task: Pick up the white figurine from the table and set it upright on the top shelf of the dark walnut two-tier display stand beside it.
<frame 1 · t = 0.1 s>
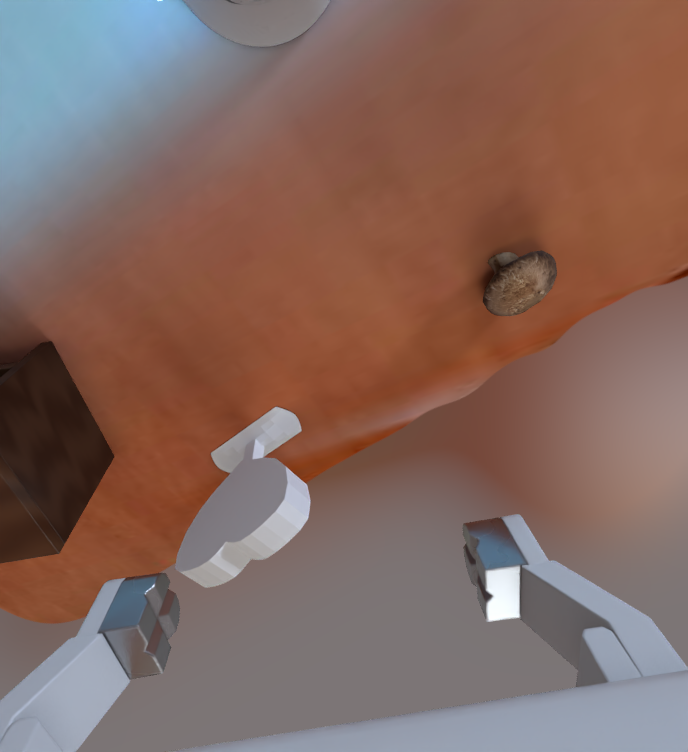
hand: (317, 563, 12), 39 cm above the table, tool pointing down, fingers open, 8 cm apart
shelf stand: (8, 416, 53), on the table
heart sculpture: (255, 441, 58), on the table
mushroom: (507, 275, 49), on the table
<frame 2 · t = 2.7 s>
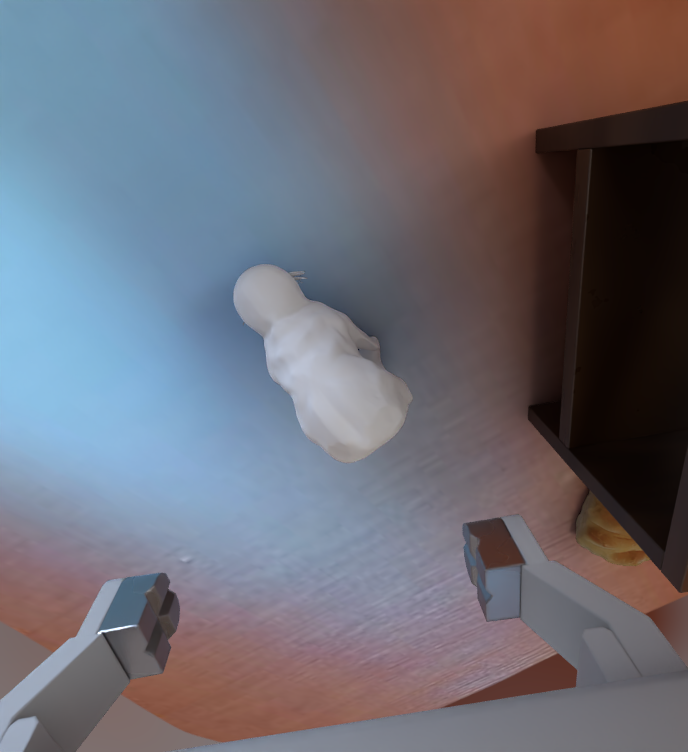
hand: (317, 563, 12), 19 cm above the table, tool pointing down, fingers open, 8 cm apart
shelf stand: (659, 273, 29), on the table
pastry: (612, 498, 37), on the table
white figurine: (313, 331, 29), on the table
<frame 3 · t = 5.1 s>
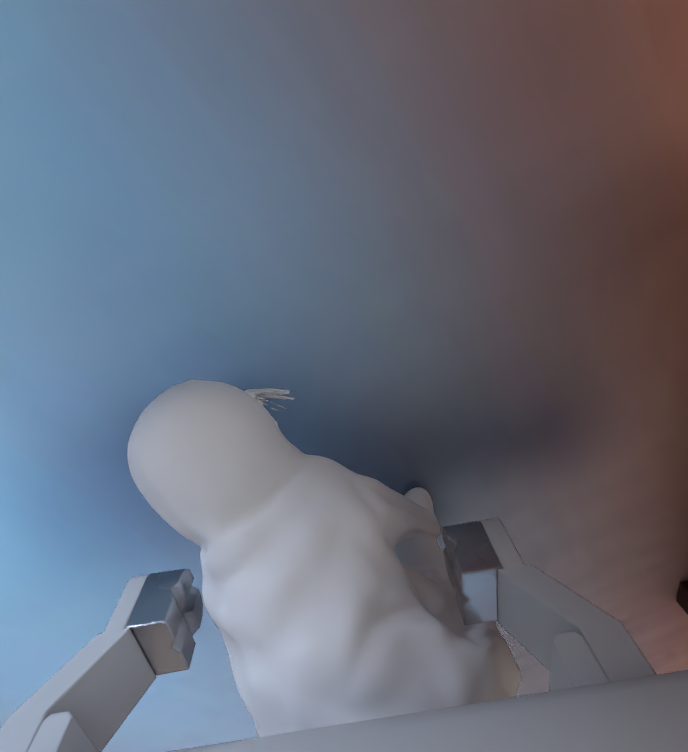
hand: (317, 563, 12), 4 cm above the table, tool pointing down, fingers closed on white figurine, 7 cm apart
white figurine: (308, 476, 16), on the table, touching gripper
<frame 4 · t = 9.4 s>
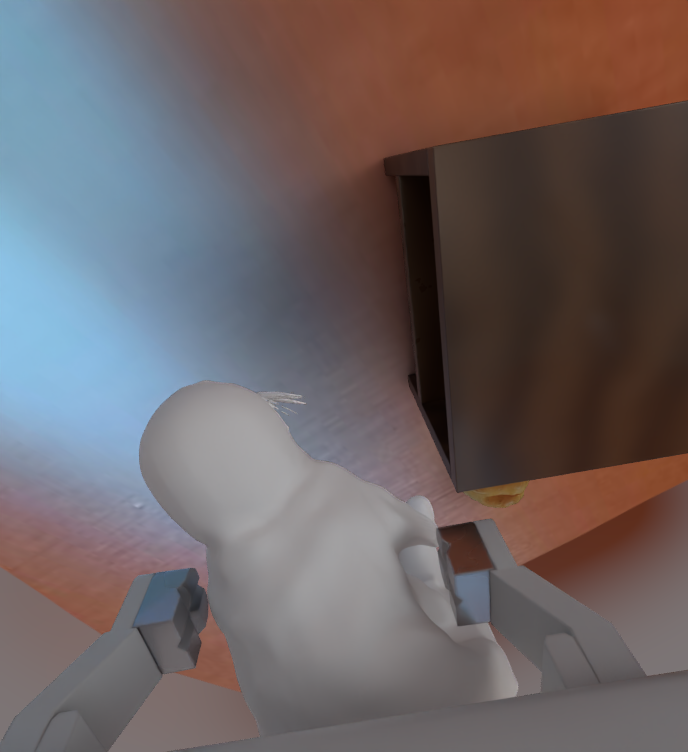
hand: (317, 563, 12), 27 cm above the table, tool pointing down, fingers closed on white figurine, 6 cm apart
shelf stand: (498, 267, 37), on the table
pastry: (490, 454, 45), on the table
white figurine: (311, 480, 16), point 23 cm above the table, touching gripper
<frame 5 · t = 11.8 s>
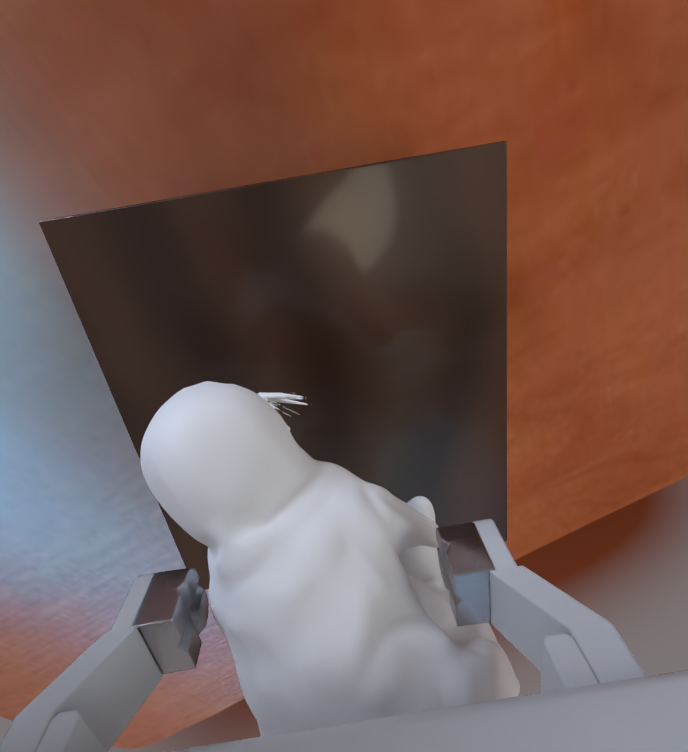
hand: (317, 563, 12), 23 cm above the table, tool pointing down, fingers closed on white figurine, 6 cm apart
shelf stand: (318, 316, 33), on the table
white figurine: (311, 480, 16), point 20 cm above the table, touching gripper
when the fingers open (19 cm above the table, at t = 13.7 s): white figurine stays where it is, resting on shelf stand.
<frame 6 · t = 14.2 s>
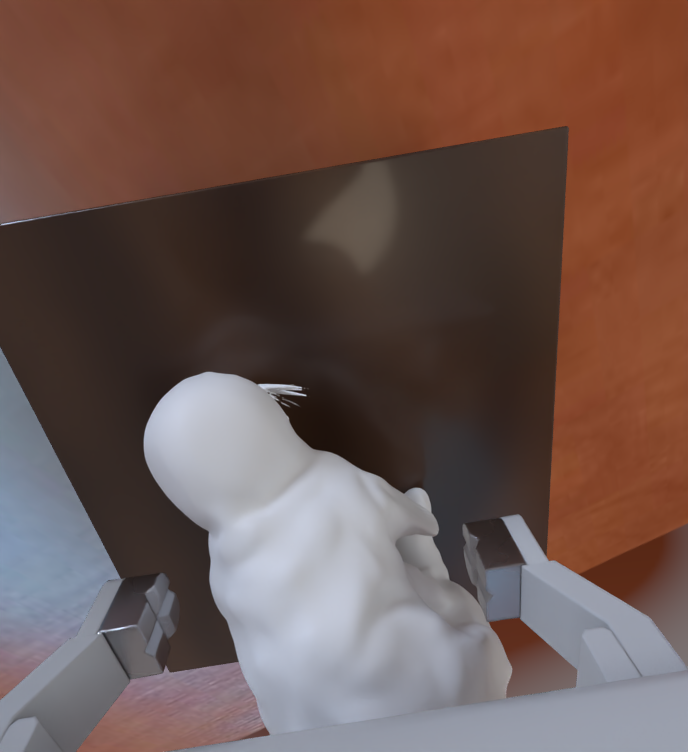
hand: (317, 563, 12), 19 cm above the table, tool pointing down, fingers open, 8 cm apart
shelf stand: (316, 333, 29), on the table
white figurine: (310, 472, 16), point 15 cm above the table, touching shelf stand
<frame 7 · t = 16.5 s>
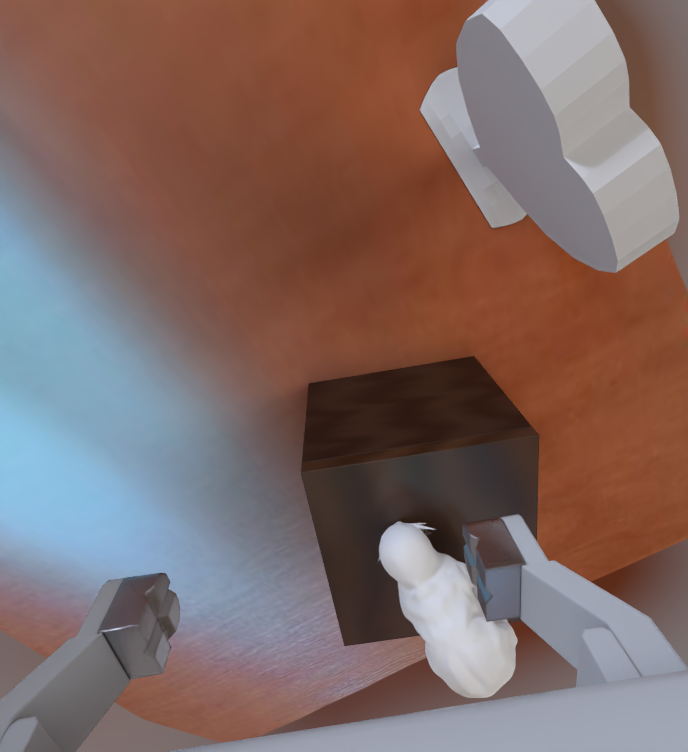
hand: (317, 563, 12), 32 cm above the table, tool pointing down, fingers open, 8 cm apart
shelf stand: (401, 448, 49), on the table
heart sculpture: (482, 151, 37), on the table
white figurine: (426, 553, 35), point 15 cm above the table, touching shelf stand
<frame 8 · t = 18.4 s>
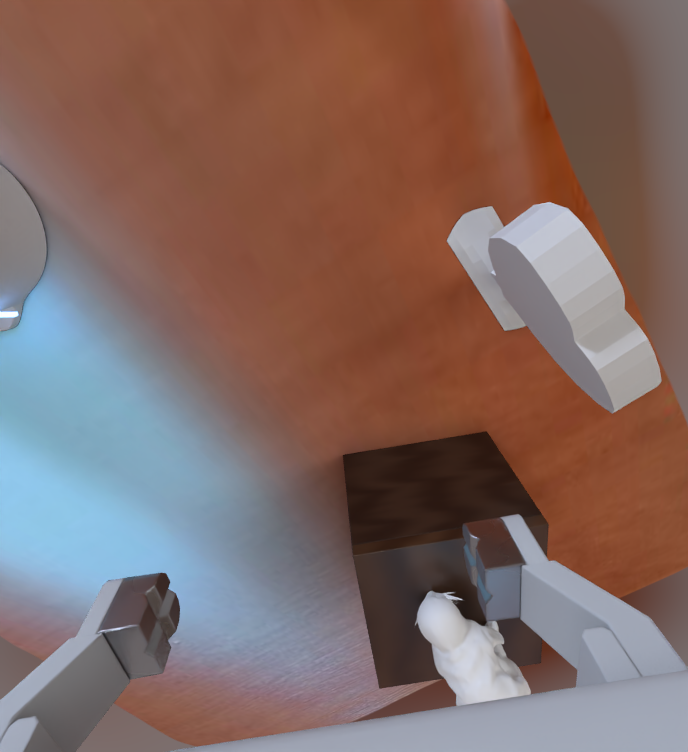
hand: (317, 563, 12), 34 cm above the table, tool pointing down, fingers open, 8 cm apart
shelf stand: (421, 506, 55), on the table
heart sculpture: (498, 271, 44), on the table
white figurine: (452, 614, 42), point 15 cm above the table, touching shelf stand
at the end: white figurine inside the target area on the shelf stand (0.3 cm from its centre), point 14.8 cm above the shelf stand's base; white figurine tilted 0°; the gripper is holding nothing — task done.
